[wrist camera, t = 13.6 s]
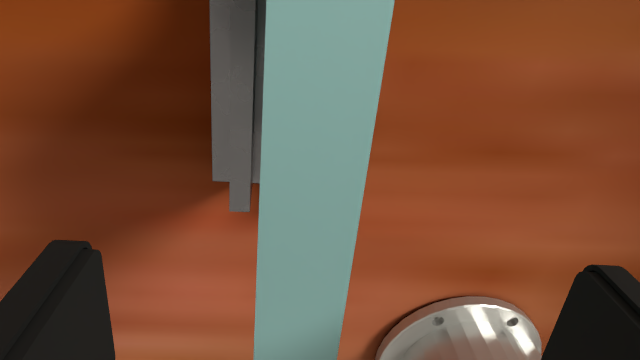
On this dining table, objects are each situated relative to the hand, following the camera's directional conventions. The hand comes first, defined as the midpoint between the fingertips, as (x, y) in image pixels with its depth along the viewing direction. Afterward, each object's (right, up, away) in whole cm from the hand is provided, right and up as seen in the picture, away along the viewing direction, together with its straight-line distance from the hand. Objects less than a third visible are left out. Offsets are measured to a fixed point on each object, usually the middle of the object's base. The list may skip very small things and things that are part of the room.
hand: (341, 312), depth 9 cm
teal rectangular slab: (-2, +9, +13) cm, 16 cm away
